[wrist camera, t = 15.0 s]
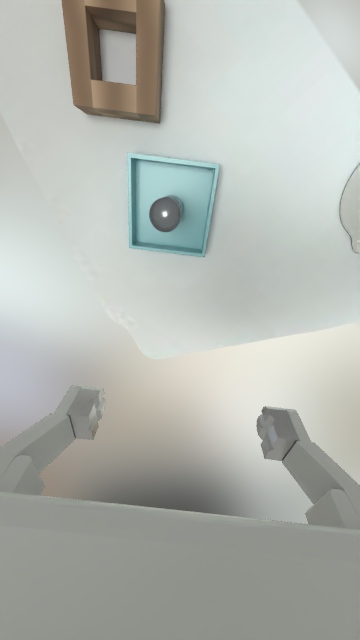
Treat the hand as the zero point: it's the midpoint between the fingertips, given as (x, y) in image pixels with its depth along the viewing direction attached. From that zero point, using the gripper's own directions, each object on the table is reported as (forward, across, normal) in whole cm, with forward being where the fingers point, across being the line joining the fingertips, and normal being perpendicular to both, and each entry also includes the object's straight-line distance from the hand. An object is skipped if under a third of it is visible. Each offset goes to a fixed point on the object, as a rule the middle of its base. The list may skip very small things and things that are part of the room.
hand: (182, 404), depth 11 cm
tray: (+34, +4, -6) cm, 35 cm away
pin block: (+34, +12, -22) cm, 42 cm away
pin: (+33, +4, -6) cm, 34 cm away
